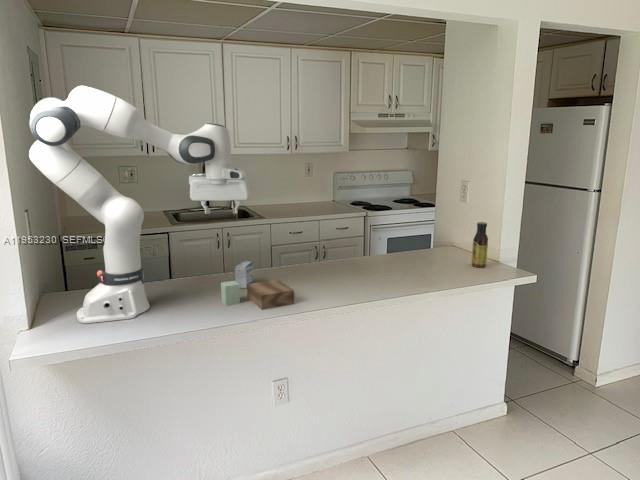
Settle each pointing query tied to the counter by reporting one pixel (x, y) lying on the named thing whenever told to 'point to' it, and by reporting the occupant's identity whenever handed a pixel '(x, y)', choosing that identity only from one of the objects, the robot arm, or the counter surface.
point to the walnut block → (270, 294)
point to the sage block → (230, 293)
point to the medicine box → (244, 274)
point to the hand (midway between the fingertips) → (221, 213)
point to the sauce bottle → (480, 246)
